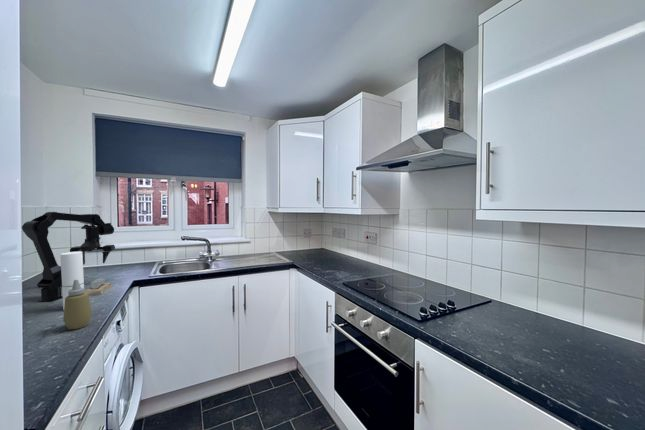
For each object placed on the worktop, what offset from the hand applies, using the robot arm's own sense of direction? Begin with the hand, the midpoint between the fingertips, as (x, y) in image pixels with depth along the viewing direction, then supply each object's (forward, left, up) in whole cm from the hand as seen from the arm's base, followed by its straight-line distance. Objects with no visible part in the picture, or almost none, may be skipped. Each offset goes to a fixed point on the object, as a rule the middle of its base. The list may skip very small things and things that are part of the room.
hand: (93, 263), depth 149 cm
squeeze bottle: (-48, -36, -13) cm, 61 cm away
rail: (-8, -9, -13) cm, 17 cm away
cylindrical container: (-30, -17, -13) cm, 37 cm away
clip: (-8, -9, -13) cm, 17 cm away
